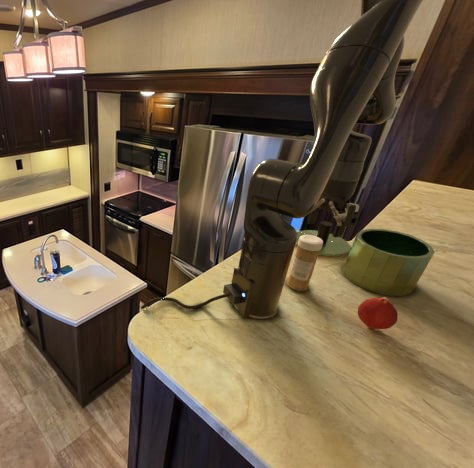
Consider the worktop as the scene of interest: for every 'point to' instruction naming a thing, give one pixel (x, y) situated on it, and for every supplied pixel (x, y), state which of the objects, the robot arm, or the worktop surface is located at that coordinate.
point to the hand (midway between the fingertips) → (323, 229)
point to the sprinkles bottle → (304, 262)
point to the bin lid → (327, 240)
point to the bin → (387, 261)
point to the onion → (377, 313)
